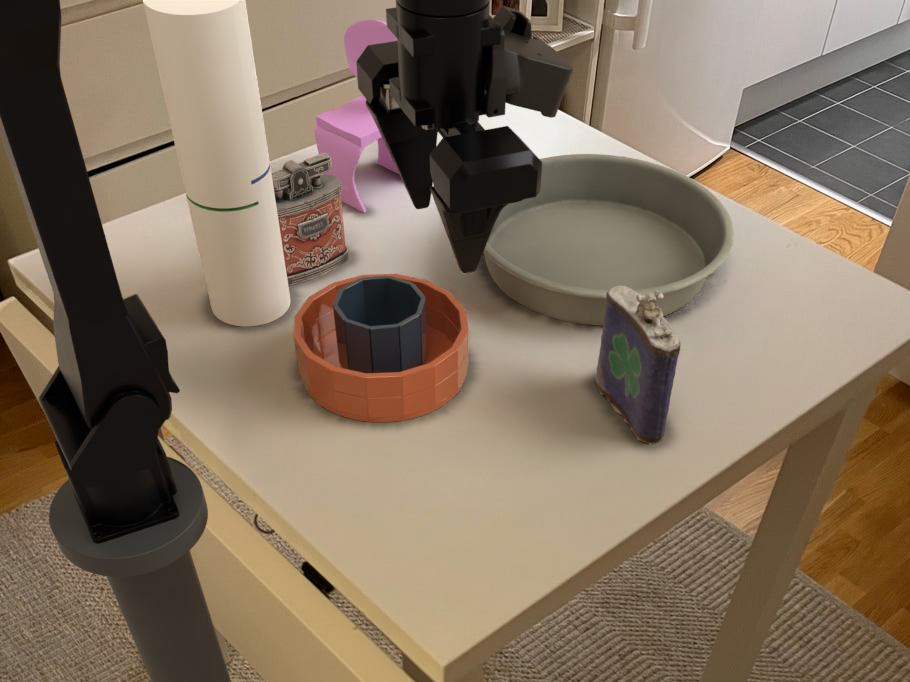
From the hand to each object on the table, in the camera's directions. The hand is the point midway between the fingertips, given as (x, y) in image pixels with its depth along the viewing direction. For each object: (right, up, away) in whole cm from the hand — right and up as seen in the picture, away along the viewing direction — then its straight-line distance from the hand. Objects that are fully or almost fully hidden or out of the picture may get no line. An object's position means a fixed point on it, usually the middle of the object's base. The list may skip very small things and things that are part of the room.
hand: (444, 238), depth 73 cm
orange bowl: (-6, -6, +12) cm, 15 cm away
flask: (+15, -10, +10) cm, 21 cm away
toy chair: (-9, +18, +31) cm, 37 cm away
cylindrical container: (-18, +1, +18) cm, 26 cm away
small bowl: (-6, -6, +12) cm, 15 cm away
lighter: (-13, +6, +22) cm, 26 cm away
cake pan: (+14, +7, +23) cm, 28 cm away
